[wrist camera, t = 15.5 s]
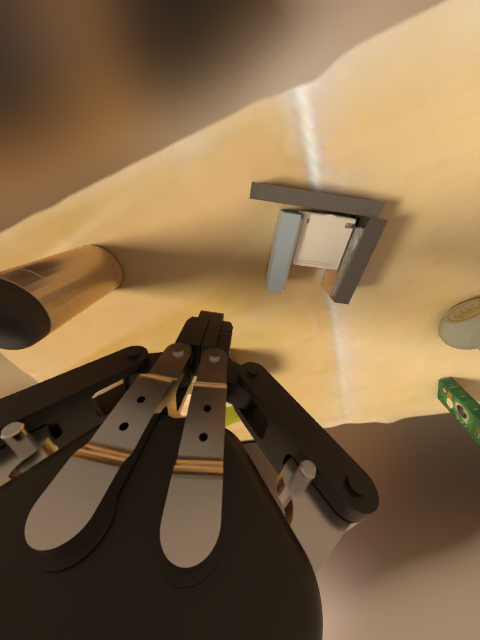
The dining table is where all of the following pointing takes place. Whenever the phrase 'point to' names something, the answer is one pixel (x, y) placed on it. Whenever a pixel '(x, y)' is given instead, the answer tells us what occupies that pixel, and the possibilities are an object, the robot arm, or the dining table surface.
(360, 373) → the dining table surface
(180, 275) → the dining table surface
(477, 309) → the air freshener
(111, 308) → the dining table surface
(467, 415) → the coffee box
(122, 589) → the robot arm
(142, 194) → the dining table surface
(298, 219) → the block
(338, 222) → the small box
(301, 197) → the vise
